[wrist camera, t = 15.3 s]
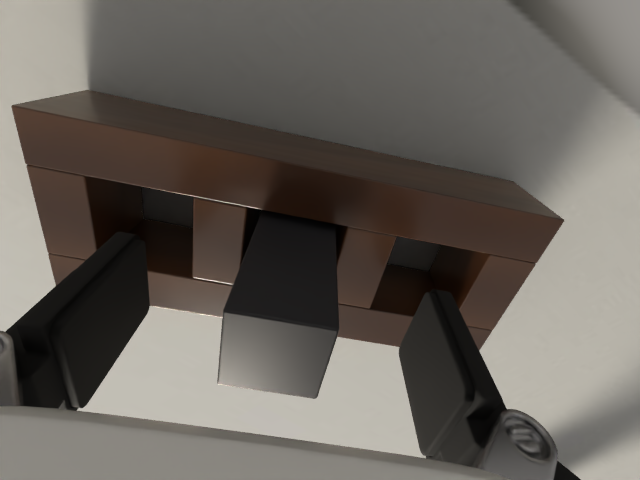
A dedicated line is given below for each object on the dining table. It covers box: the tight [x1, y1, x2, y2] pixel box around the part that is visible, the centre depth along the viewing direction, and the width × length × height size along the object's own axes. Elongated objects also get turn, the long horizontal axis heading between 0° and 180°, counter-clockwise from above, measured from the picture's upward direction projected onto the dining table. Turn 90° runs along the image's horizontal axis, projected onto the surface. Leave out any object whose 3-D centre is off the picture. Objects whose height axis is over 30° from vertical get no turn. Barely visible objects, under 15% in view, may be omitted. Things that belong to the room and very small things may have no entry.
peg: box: [218, 210, 339, 399], centre depth 13 cm, size 3×3×9 cm
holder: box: [12, 90, 564, 350], centre depth 15 cm, size 8×19×4 cm, turn 79°
